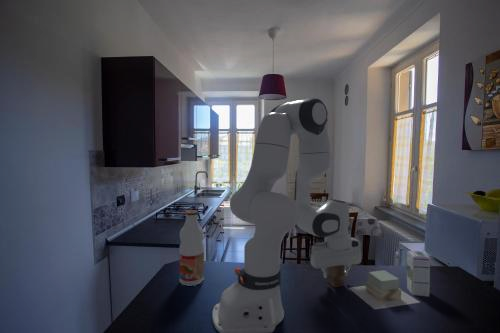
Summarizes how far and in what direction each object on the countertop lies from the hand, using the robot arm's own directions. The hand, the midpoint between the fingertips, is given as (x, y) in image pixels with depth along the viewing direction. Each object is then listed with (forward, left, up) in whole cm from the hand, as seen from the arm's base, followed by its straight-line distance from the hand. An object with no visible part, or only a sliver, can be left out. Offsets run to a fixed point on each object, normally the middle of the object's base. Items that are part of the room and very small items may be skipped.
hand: (335, 276), depth 101 cm
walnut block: (0, 0, -3) cm, 3 cm away
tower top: (+12, -11, +1) cm, 16 cm away
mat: (+12, -11, -3) cm, 17 cm away
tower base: (+12, -11, -3) cm, 17 cm away
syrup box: (+26, -12, -3) cm, 29 cm away
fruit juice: (-54, +15, -3) cm, 56 cm away
